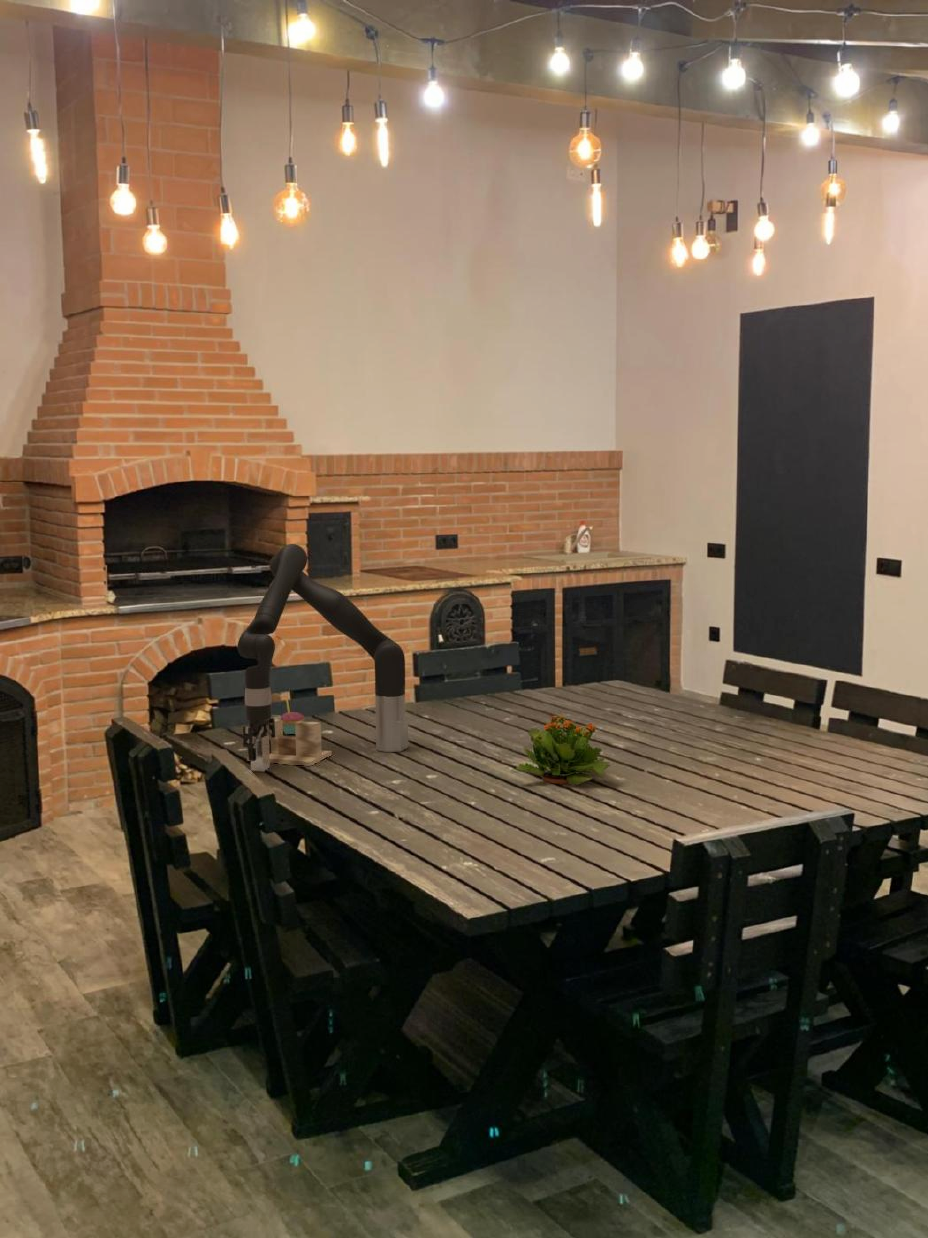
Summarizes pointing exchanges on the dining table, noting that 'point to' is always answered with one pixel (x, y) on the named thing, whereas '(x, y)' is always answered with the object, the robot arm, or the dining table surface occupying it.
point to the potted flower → (563, 753)
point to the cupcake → (290, 720)
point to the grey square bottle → (261, 755)
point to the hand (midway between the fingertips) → (260, 757)
